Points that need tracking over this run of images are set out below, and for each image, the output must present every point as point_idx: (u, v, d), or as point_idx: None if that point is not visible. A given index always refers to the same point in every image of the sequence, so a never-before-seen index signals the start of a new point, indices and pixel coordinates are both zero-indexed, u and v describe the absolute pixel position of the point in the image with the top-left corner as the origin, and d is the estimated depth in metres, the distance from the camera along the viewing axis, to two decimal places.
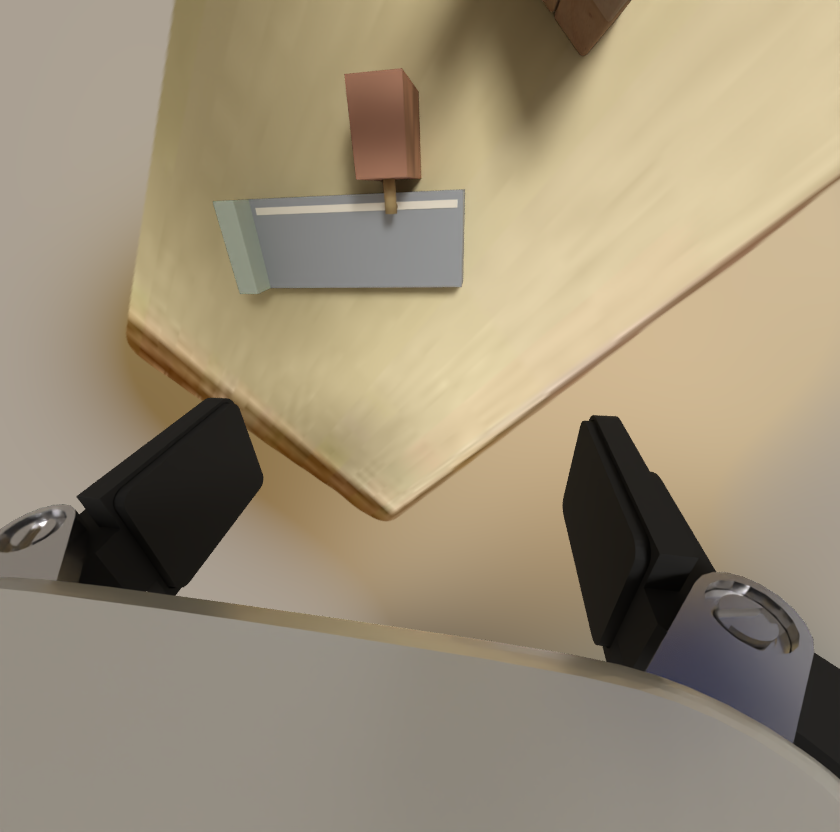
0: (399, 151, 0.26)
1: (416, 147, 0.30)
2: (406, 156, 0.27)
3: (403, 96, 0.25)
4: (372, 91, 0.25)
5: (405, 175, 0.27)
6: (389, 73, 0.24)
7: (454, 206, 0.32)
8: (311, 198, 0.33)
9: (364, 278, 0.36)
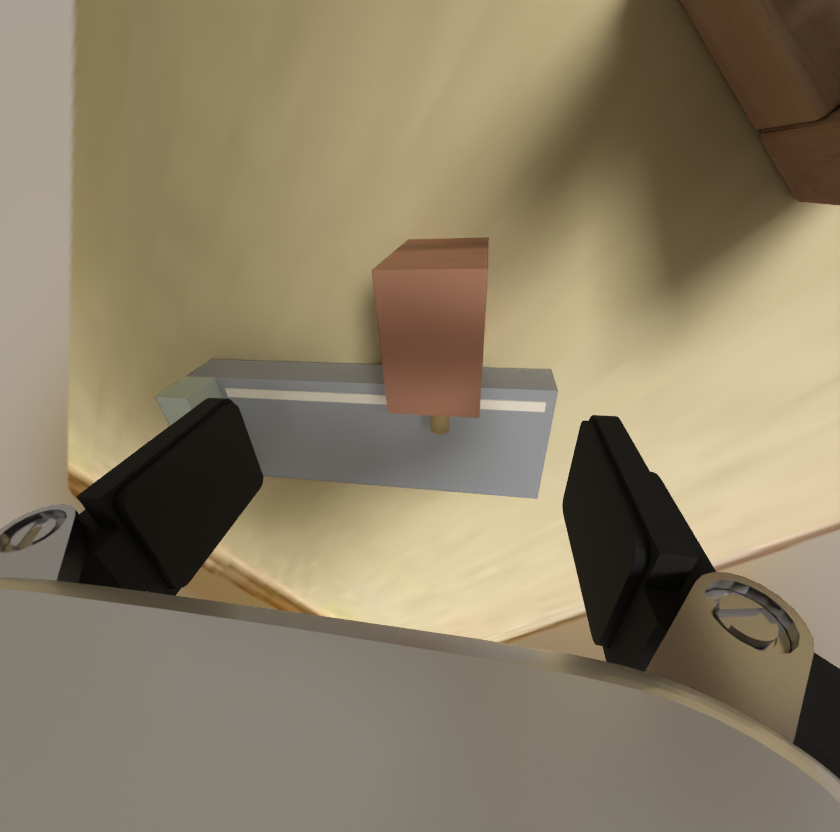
0: (469, 385, 0.15)
1: None
2: None
3: (484, 308, 0.13)
4: (425, 298, 0.13)
5: (476, 416, 0.15)
6: (461, 274, 0.12)
7: (539, 409, 0.20)
8: (310, 383, 0.21)
9: (390, 477, 0.24)
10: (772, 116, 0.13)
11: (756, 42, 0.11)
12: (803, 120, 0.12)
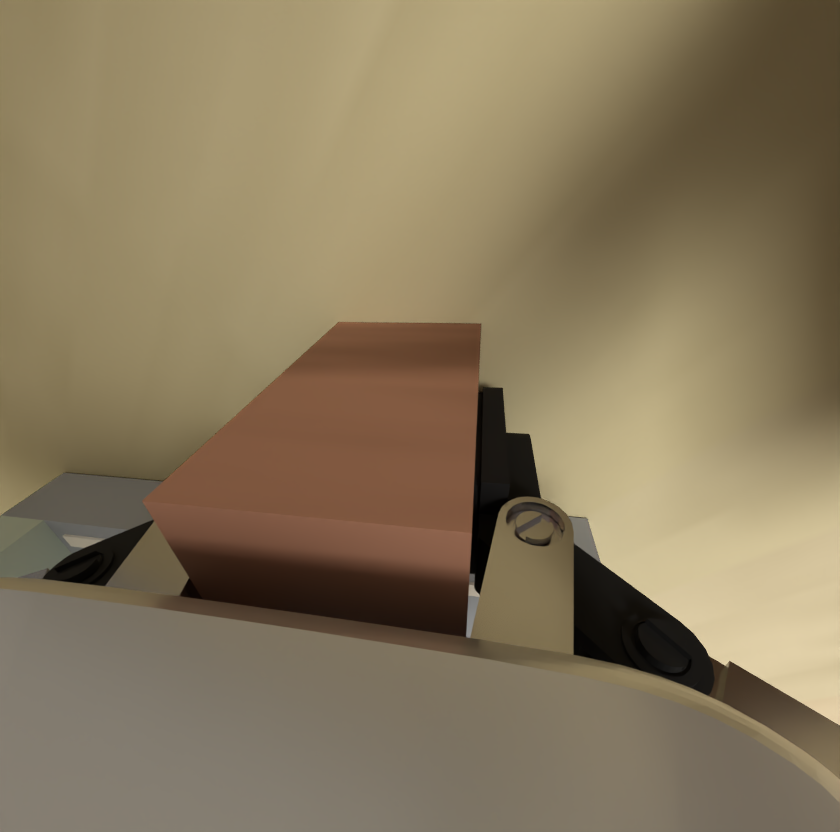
0: None
1: None
2: None
3: None
4: (302, 569, 0.05)
5: None
6: (392, 537, 0.04)
7: None
8: None
9: None
10: None
11: None
12: None
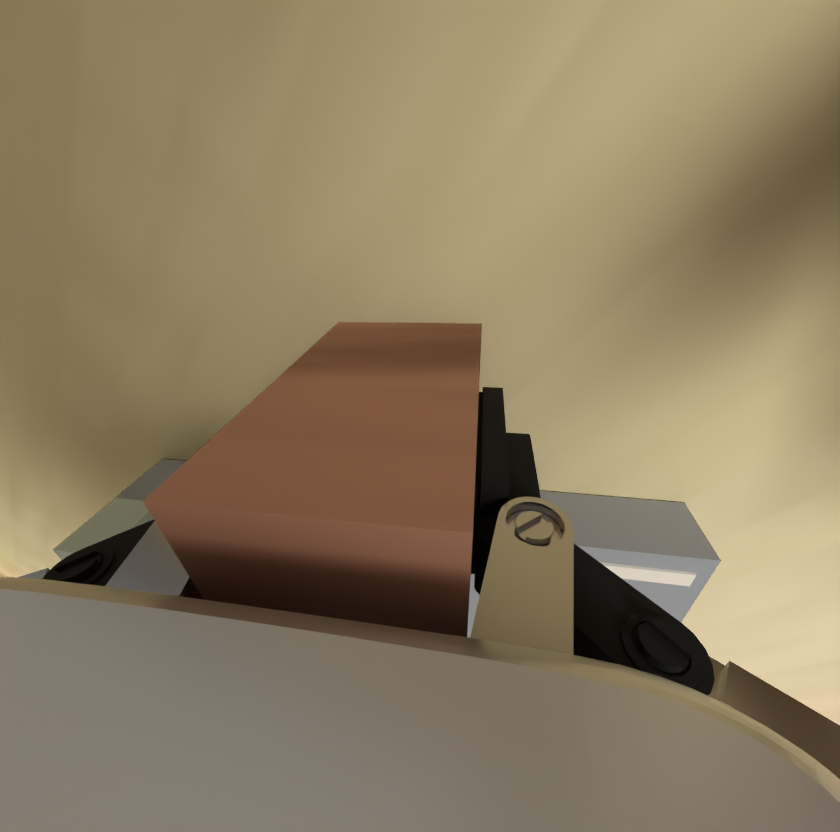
0: None
1: None
2: None
3: None
4: (303, 568, 0.05)
5: None
6: (394, 537, 0.04)
7: (680, 581, 0.12)
8: None
9: None
10: None
11: None
12: None
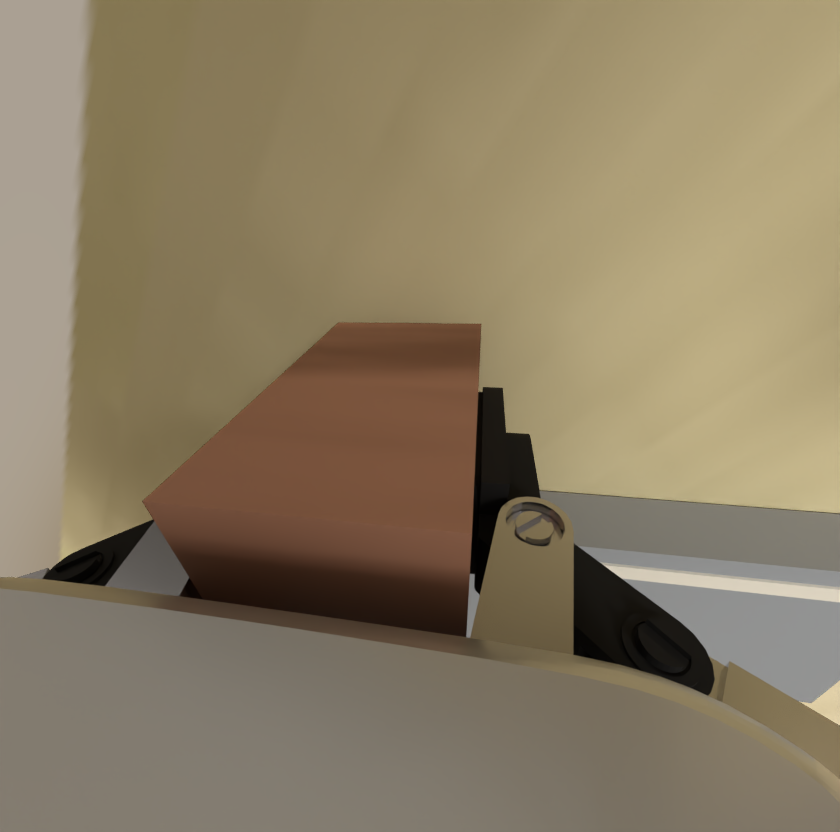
0: None
1: None
2: None
3: None
4: (303, 568, 0.05)
5: None
6: (393, 537, 0.04)
7: None
8: None
9: None
10: None
11: None
12: None
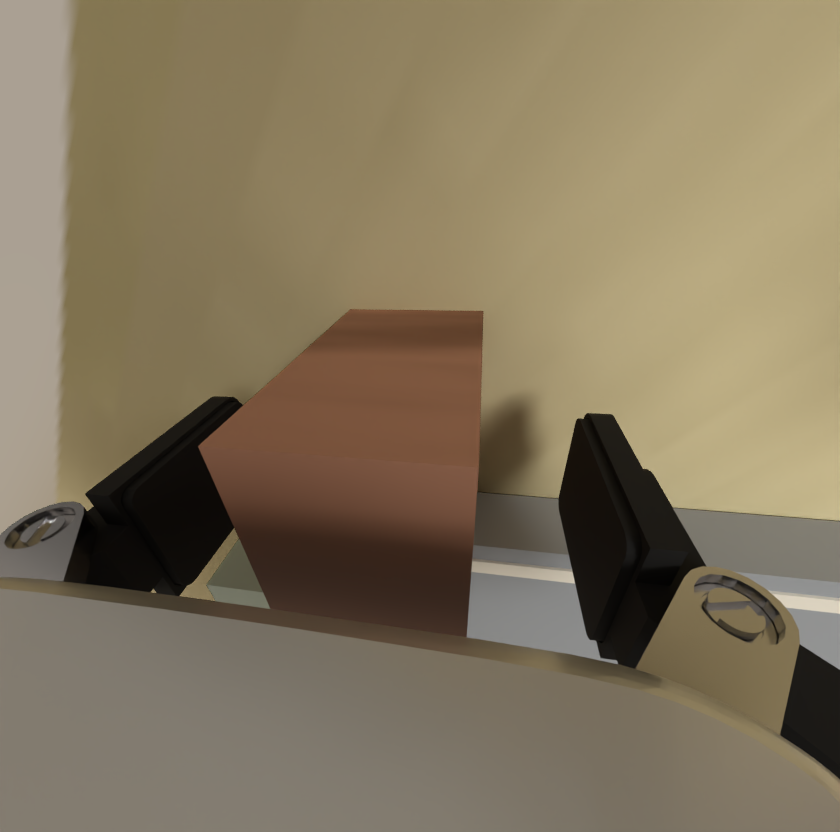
0: None
1: None
2: None
3: None
4: (333, 507, 0.05)
5: None
6: (412, 473, 0.05)
7: None
8: (476, 548, 0.12)
9: None
10: None
11: None
12: None
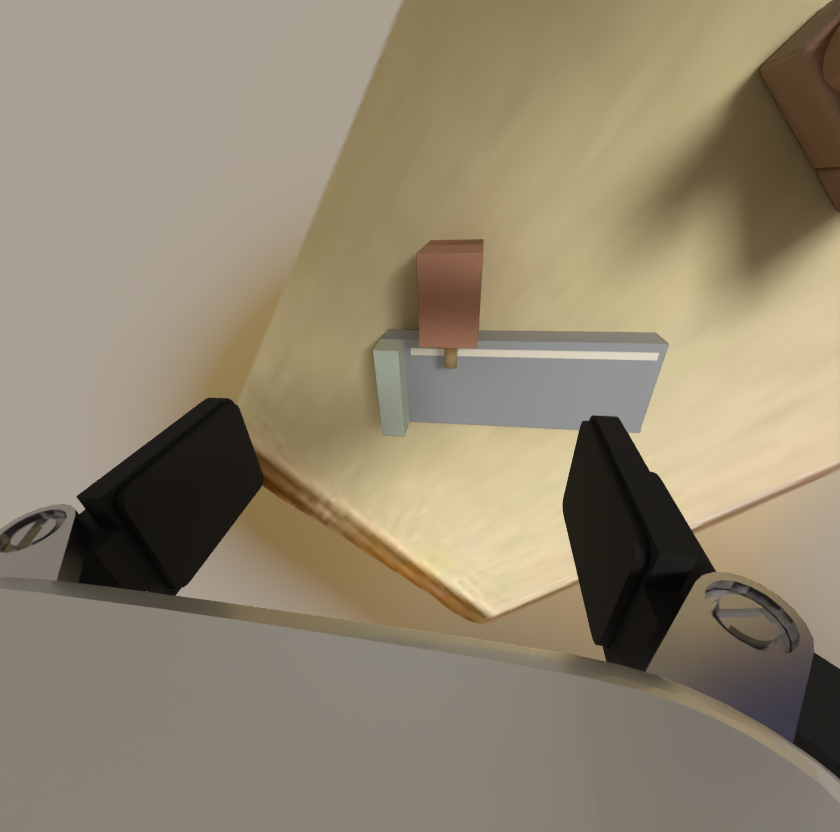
0: (471, 325, 0.24)
1: None
2: None
3: (481, 276, 0.22)
4: (447, 270, 0.22)
5: (475, 347, 0.25)
6: (468, 256, 0.22)
7: (653, 359, 0.28)
8: (480, 342, 0.29)
9: (524, 419, 0.32)
10: (829, 161, 0.21)
11: (824, 121, 0.19)
12: None
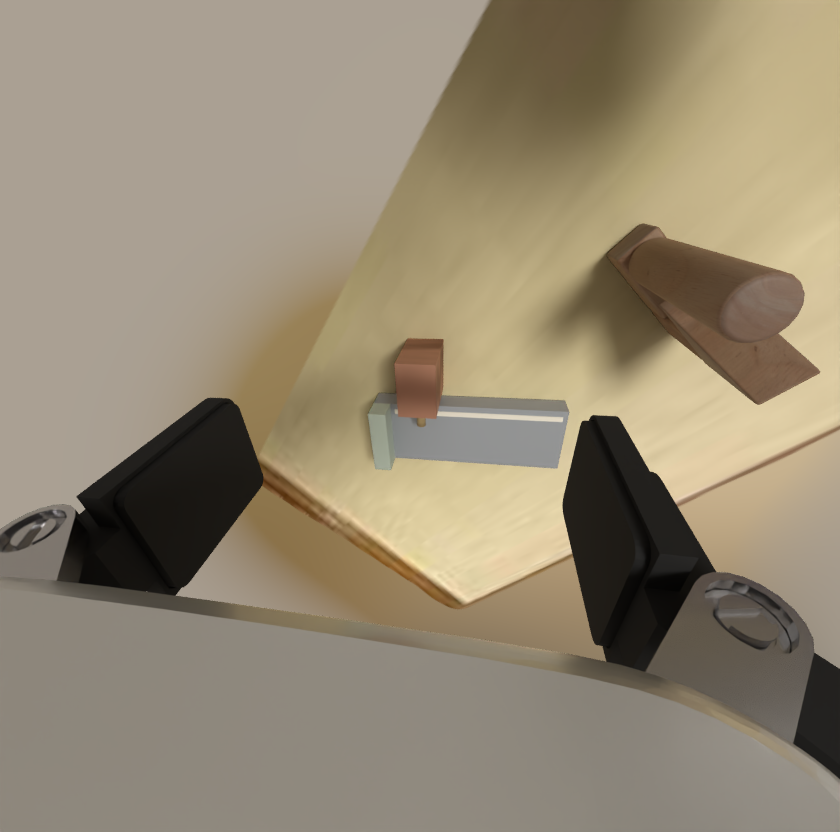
0: (431, 405, 0.36)
1: (441, 379, 0.40)
2: (436, 407, 0.37)
3: (435, 377, 0.35)
4: (413, 373, 0.35)
5: (434, 418, 0.37)
6: (426, 366, 0.34)
7: (560, 421, 0.40)
8: (442, 407, 0.41)
9: (476, 457, 0.45)
10: (652, 310, 0.33)
11: (640, 293, 0.32)
12: (660, 316, 0.32)
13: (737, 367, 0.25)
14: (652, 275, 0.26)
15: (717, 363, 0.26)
